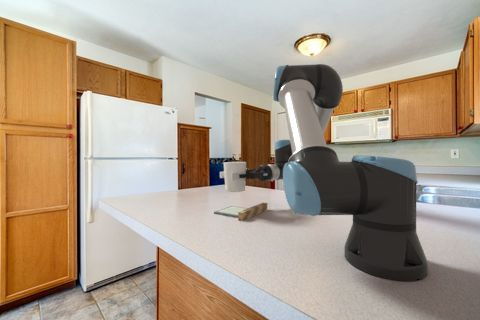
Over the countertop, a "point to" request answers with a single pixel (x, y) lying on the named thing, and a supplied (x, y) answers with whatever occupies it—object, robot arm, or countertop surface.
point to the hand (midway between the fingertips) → (225, 175)
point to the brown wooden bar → (252, 211)
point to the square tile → (230, 211)
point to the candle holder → (228, 169)
